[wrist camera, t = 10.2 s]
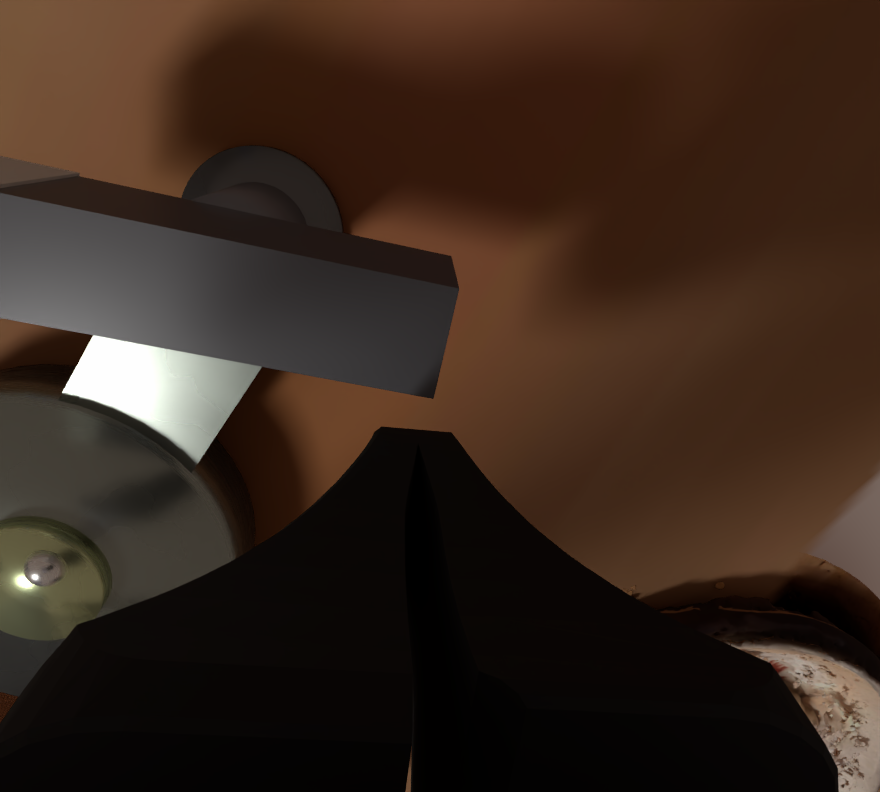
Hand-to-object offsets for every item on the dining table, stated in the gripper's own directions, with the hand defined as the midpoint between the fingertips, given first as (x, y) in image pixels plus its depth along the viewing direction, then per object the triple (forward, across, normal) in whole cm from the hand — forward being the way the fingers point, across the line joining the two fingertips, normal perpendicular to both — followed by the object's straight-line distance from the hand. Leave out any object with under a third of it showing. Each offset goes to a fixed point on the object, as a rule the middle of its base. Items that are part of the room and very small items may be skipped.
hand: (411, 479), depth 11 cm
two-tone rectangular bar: (+5, +4, -3) cm, 7 cm away
